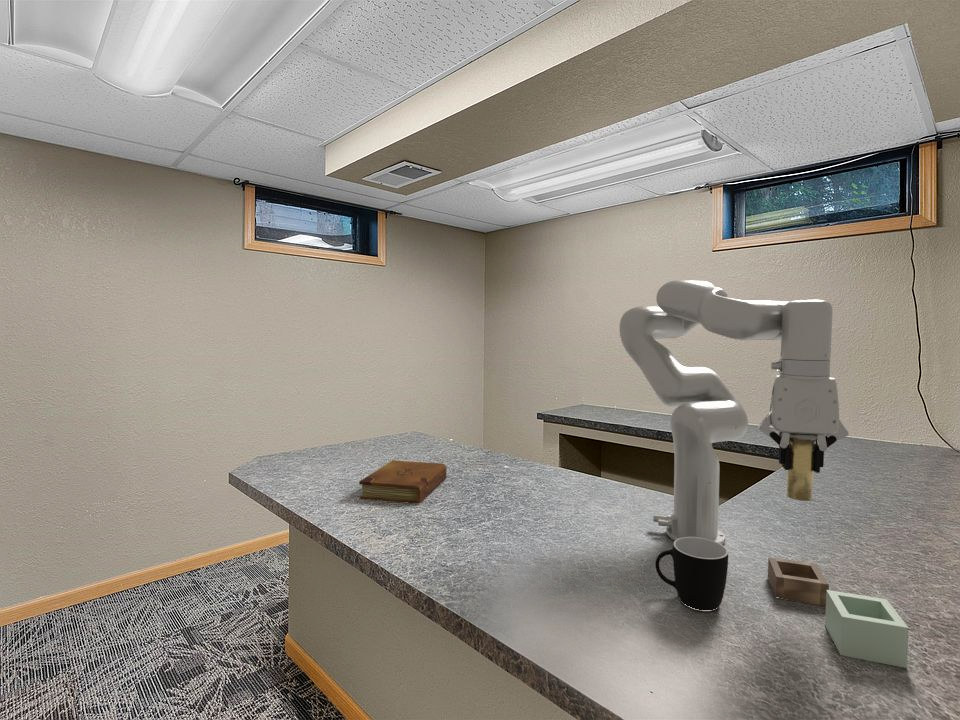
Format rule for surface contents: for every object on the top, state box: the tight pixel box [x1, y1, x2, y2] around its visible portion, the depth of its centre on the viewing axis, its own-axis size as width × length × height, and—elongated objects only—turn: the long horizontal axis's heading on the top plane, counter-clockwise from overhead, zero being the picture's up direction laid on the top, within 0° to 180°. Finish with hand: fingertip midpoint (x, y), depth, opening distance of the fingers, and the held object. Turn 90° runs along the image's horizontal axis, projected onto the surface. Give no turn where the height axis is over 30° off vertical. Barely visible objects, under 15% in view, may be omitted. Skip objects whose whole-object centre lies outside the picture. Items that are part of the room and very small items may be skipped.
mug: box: [654, 537, 729, 610], centre depth 90 cm, size 12×9×10 cm
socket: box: [824, 589, 910, 669], centre depth 77 cm, size 8×8×6 cm
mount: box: [767, 556, 830, 607], centre depth 92 cm, size 8×8×4 cm
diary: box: [358, 459, 448, 504], centre depth 153 cm, size 23×19×6 cm
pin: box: [786, 433, 818, 502], centre depth 91 cm, size 5×5×12 cm
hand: (800, 468), depth 91 cm, fingers closed on pin, 4 cm apart
